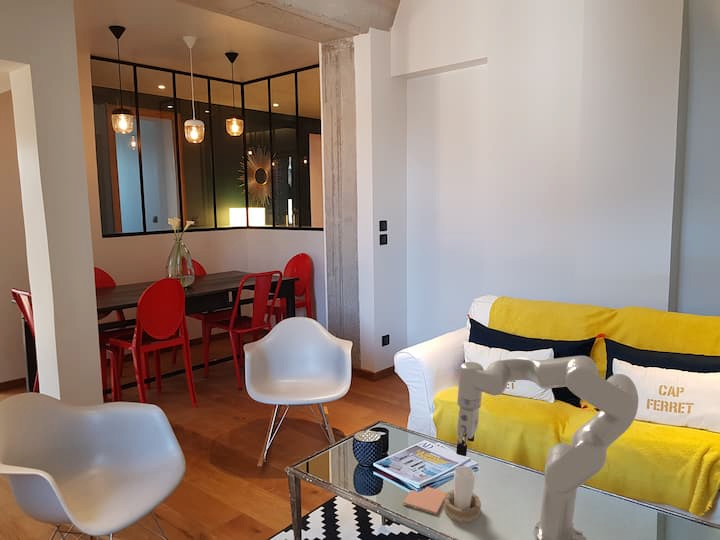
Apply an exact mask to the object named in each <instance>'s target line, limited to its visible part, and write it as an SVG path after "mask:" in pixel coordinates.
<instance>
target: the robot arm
mask: <svg viewBox="0 0 720 540" xmlns="http://www.w3.org/2000/svg"><path fill="white" fill-rule="evenodd" d="M458 374H459V375H458V376H459V377H458V389H457V398H456V399H457V401H456V403H457V406H459V409H458V418H457V428H456V435H457V436H458V437H457V441H456V450H455V451H456V453H455V454H457V455H459V456H462V457H467V452H468V451H467V450H468V444H467V442H471V443H472V442H474V441H475V434H476V432H477V430H478V427H479V421H480V419H479V417H480V416H479V415H480V414H479V413H480V408H481V405H482V395H483V393H485V394H488V395H491V396H500V395H502V394H503V393H504V391H505V390H506V387H507V385H508V383H509V382H512V381H513V382H515V381H529V382H533V383H535V384H536V385H537V386H538V387H540V388H541V389H546V390H547V389H553V388H554V389H555V388H564V387H566V388H567V389H568V390H569V391H570V392H571V393H573V395H575V396H576V397H578V398H579V399H580V400H582V401H584V402H586V403H587V404H588V405H591V406H592V407H594V408H596V409H598V410H599V412H597V413H596V414H595V415H593V417H592V418H590V420H588V421H587V422H586V423H585V424H583V425H582V426H580V427H579V428H577V430H575V432H574V433H573V435H572V439H571V444H568V443H564V442H562V443H561V442H560V443H556V444H554V445H553V446H552V447H551V448H550V449H549V450H548V453H547V455H546V461H545V466H544V467H545V468H544V486H543V492H542V493H543V494H542V501H541V511H540V521H538V522H537V523H536V524H535V525H534V528H533V533H534V536H535V538H536V539H537V540H587V536H585V535H583V533H584V531H582V530H578V529H576V528H574V522H573V521H574V512H575V506H576V505H575V504H576V498H577V491H578V488H579V487H581V486H582V485H584V484H585V483H587V482H588V481H589V480H590V479H591V478H593V477H595V475H597V474H598V473H599V472H600V471H601V470H602V469H603V467H604V466H605V464H606V461H607V450H608V448H609V447H610V446H611V445H612V444H613V443H615V441H616V440H618V439H619V438H621V436H622V435H624V433H625V432H627V430H629V428H630V427H631V426H632V424H633V422H634V421H635V419H636V416H637V413H638V408H639V395H638V390H637V387H636V385H635V383H634V381H633V379H631V378H630V377H629V376H628V375H626V374H624V373H616V374H612V375H611V376H610V377H608V378H607V379H605V378H603V377H601V376H600V375H599V372H598V367H597V364H596V362H595V360H593V358H591V357H589V356H587V355H575V356H574V355H573V356H566V357H565V356H563V357H557V358H548V359H541V360H540V359H539V360H537V359H533V358H532V359H531V358H524V357H515V358H513V357H512V358H506V359H499V360H495V361H493V362H491V363H490V364H489V365H488V367H487V368H486V370H484V367H483V365H482V364H480V363H478V362H475V361H465V362H463V363H462V364H460V367H459V373H458Z"/></svg>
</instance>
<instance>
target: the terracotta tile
mask: <svg viewBox="0 0 720 540" xmlns="http://www.w3.org/2000/svg"><path fill="white" fill-rule="evenodd" d="M447 493H448V492H447V491H444V490H440V489H437V488H434V487H431V486H427V487H426V488H425V489H423V490H422V491H419V492H416V491H414V490H411V489H410V491H409V492H408V493H407V495H406V497H405V499H404V500H403V503H402V504H406V505H410V506H412V507H411V508H413V507H416V508H418V509H417V510H419V509H421V510H420V511H422V510H424V512H426V513H429V512H430V514H432V513H433V514H432V515H435V514H436V515H438V513H439V512H440V509H441V507H442V506H443V505H444V498H445V496H446V494H447ZM406 505H405V506H406ZM416 508H415V509H416Z"/></svg>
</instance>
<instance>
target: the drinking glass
mask: <svg viewBox="0 0 720 540" xmlns="http://www.w3.org/2000/svg"><path fill="white" fill-rule="evenodd" d="M475 473H476V472H475V471H474V469H472V468H471V467H469V466H464V465H461V466H457V467H455V468H454V471H453V490H454V502H453V506H454V507H456V508H459V509H462V510H464V509H471V505H470V504H471V498H472V493H474V492H473V491H474V486H475Z"/></svg>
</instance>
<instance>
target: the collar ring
mask: <svg viewBox="0 0 720 540" xmlns="http://www.w3.org/2000/svg"><path fill="white" fill-rule="evenodd" d="M481 506H482V503H481V499H480V498H479V496H478V495H477V494H475V493H474V492H473V493H472V498H471V504H470V509H464V510H462V509H459V508H456V507H454V489H452V490H450V491H448V492H447V494H446V496H445V498H444V502H443V510H444V511H443V512H444V514H445V515H446V516H447V517H448V518H450V519H451V520H453V521H455V522H459V523H472V522H474V521H476V520H478V519H479V517H480V514H481V508H482V507H481ZM471 507H472V508H471Z"/></svg>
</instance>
